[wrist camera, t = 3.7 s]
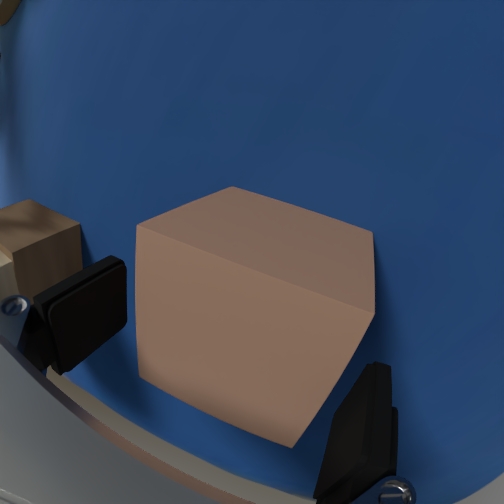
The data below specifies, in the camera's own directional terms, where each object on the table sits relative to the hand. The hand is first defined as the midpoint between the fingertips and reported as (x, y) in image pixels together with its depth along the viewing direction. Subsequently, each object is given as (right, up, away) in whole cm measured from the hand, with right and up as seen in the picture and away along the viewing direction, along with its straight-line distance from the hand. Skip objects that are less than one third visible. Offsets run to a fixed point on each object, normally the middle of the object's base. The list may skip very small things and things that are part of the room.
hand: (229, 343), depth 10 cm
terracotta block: (+2, +2, +4) cm, 5 cm away
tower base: (-15, +3, +11) cm, 19 cm away
